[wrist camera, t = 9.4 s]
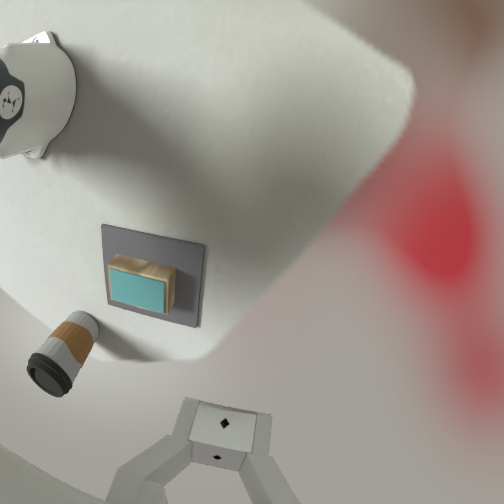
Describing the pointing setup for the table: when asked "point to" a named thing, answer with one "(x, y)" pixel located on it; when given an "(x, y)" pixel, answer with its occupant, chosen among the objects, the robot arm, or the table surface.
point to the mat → (166, 253)
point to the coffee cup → (63, 354)
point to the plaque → (142, 283)
